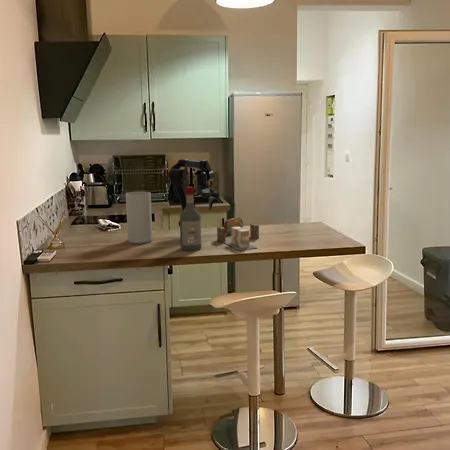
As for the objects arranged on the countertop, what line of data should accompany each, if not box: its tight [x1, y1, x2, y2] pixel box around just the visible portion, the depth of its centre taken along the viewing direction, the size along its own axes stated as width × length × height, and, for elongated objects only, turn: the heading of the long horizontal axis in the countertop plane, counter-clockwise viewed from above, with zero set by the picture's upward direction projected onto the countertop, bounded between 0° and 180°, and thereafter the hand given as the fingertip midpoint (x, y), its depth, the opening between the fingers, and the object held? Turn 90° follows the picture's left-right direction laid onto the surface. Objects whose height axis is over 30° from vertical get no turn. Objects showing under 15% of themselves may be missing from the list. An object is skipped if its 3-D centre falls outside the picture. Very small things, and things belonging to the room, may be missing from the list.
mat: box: [223, 240, 258, 252], centre depth 260 cm, size 10×18×1 cm, turn 24°
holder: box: [216, 223, 260, 244], centre depth 273 cm, size 21×6×7 cm, turn 114°
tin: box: [223, 217, 244, 236], centre depth 288 cm, size 15×3×8 cm, turn 143°
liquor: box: [179, 186, 202, 252], centre depth 252 cm, size 9×9×30 cm
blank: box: [230, 226, 250, 248], centre depth 259 cm, size 12×4×8 cm, turn 24°
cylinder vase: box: [125, 191, 153, 245], centre depth 270 cm, size 12×12×25 cm
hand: (202, 211), depth 290 cm, fingers open, 9 cm apart
